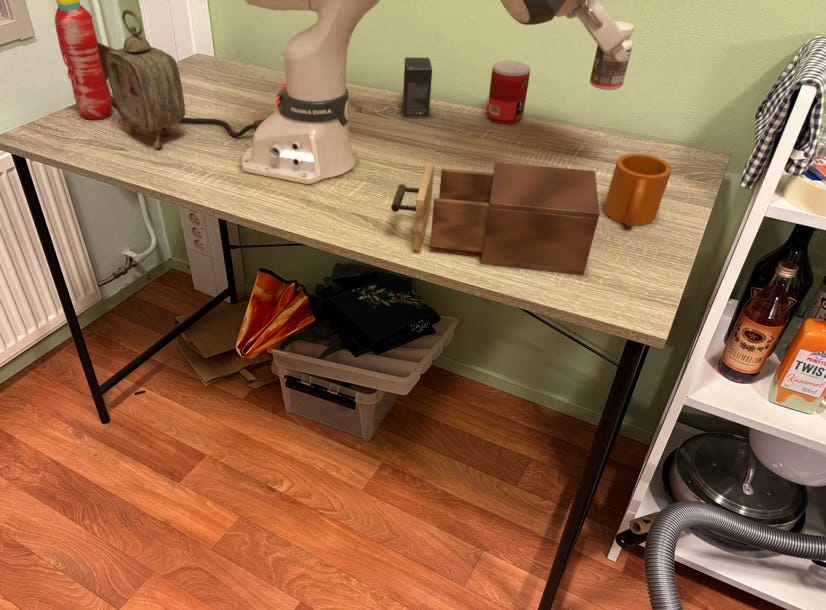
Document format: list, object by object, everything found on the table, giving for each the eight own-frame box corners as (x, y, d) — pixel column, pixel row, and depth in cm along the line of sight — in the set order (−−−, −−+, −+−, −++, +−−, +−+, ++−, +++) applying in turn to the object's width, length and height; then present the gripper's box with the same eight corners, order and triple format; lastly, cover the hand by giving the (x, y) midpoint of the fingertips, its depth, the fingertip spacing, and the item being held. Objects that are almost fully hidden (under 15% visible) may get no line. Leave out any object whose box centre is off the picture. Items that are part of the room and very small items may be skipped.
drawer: (387, 246, 110) (388, 197, 104) (399, 208, 119) (401, 161, 114) (504, 259, 107) (513, 209, 101) (508, 219, 116) (516, 171, 110)
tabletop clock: (121, 133, 147) (91, 7, 130) (158, 121, 151) (133, -2, 135) (156, 154, 139) (128, 23, 122) (193, 142, 143) (172, 13, 127)
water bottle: (111, 101, 161) (83, -17, 144) (134, 108, 157) (108, -12, 140) (69, 118, 153) (34, -5, 137) (92, 126, 150) (59, 1, 133)
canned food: (522, 125, 148) (530, 73, 141) (485, 122, 149) (491, 71, 142) (522, 111, 154) (531, 61, 146) (487, 109, 155) (493, 59, 148)
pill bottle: (590, 77, 124) (603, 18, 117) (622, 81, 122) (637, 21, 116) (588, 88, 120) (601, 28, 113) (621, 92, 118) (637, 31, 112)
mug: (591, 225, 117) (603, 176, 111) (611, 196, 124) (623, 149, 118) (644, 239, 113) (660, 189, 107) (661, 208, 121) (677, 160, 115)
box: (429, 117, 152) (432, 68, 145) (403, 117, 152) (406, 68, 145) (426, 104, 158) (429, 56, 151) (402, 104, 158) (404, 56, 151)
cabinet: (481, 264, 108) (489, 202, 101) (486, 220, 118) (494, 162, 111) (583, 275, 105) (599, 213, 98) (580, 229, 115) (595, 170, 108)
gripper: (604, -12, 101) (652, 57, 108) (575, -43, 117) (618, 19, 123) (568, 21, 105) (616, 85, 111) (544, -14, 120) (588, 45, 126)
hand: (617, 50), depth 117 cm, fingers closed on pill bottle, 6 cm apart
